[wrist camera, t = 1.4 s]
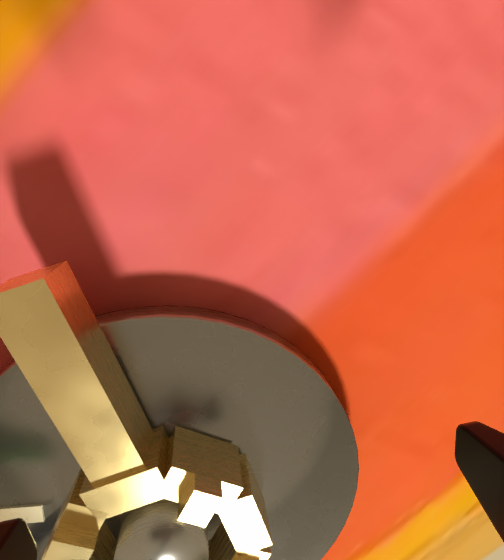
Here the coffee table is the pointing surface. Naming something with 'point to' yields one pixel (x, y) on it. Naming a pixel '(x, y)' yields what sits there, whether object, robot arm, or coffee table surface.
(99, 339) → the brass ring wrench
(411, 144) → the coffee table surface
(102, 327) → the flange
